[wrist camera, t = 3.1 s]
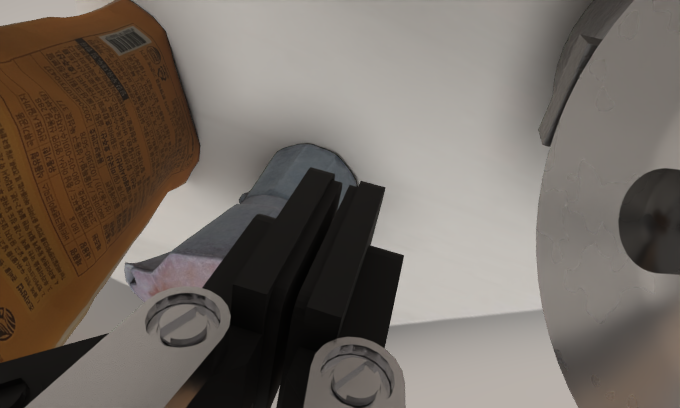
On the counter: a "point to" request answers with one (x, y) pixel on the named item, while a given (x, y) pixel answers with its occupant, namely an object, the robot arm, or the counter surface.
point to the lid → (617, 218)
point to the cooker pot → (579, 57)
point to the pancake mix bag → (81, 161)
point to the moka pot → (234, 222)
